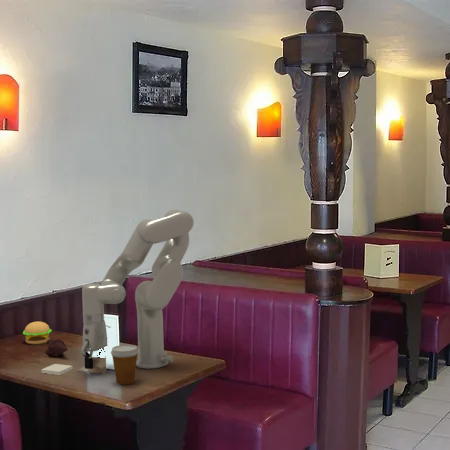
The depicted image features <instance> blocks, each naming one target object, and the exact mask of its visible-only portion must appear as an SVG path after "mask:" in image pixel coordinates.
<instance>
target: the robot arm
mask: <svg viewBox="0 0 450 450" xmlns="http://www.w3.org/2000/svg"><path fill="white" fill-rule="evenodd" d="M193 227H194V218H193V216H192V214H190V212H187V211H186V210H185V211H184V210H180V209H170V210H168V211H167V212H166V213H165V215H164V217H161V218H158V219H147V218H146V219H143V220H141V221H140V222H139V223H137V226H136V227H135V229H134V231H133V233H132V234H131V236H130V238H129V240H128V241H127V244H125V247H124V249H123V251H122V252H121V254H119V256H118V257H117V258H116V260H115V261H114V263H112V265H111V266H110V268H109V269H108V270H107V272H106V274H105V276H104V277H103V279H102V281H101V283H87V284H85V285H83V286H82V289H81V294H82V295H81V296H82V298H81V299H82V324H83V328H82V346H81V348H80V351H81V353H82V356H83V358H84V367H85V368H86V369H93V358H92V357H93V353H94V352H97V351H98V350H99V349H101V348H102V349H103V350H104V347H105V346H106V347H107V346H108V340H107V339H108V335H107V334H108V333H107V325H106V321H105V311H104V310H105V308H104V307H105V304H107V305H108V304H110V305H118V304H120V303H122V302H123V301H125V298H126V295H127V291H126V289H125V287H124V286H123V284H124V282H125V280H126V279H127V277H128V276H129V275H130V274H131V273H132V272H133V271H134V270H136V269H138V268H139V267H141V266H142V264H143V263H144V262H145V260H146V257H147V256H148V254H149V252H150V251H151V249H152V247H153V245H155V244H160V243H164V245H163V247H162V248H161V250H160V252H159V254H158V255H157V257H156V259H155V260H154V262H153V264H152V266H151V274H152V276H153V277H154V278H153V279H152V280H144V281H142V282H140V283H139V284H138V285H137V286H136V289H135V293H134V298H135V299H134V300H135V306H136V317H137V345H138V346H137V349H138V354H137V356H138V358H137V362H136V368H139V369H149V370H151V369H159V368H163V367H166V366H167V365H168V364H169V363H173V362H174V356H173V355H167V351H165V350H164V347H165V345H164V342H165V341H164V317H163V315H164V314H163V309H164V308H166V307H167V306H168V304H169V303H170V301H171V300H172V298H173V296H174V294H175V293H176V291H177V289H178V288H179V286H180V284H181V282H182V280H183V278H184V267H183V265H182V263H181V262H182V260H183V259H184V257H185V255H186V252H187V251H188V248H189V245H190V233H189V232H191V230H192V229H193ZM101 351H102V350H101ZM100 353H101V352H99V355H100ZM97 356H98V355H97V354H96V357H97Z"/></svg>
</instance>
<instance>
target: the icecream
mask: <svg viewBox="0 0 450 450" xmlns="http://www.w3.org/2000/svg"><path fill="white" fill-rule="evenodd" d="M46 344H47V349H45V353H46V354H48V355H49V354H50V355H51V356H53V357H55V358H57V357H61V356H63V354H64V353H65V352H67V351H68V348H67V345H66V343H64V341H63V340H61V339H60V338H58V339H51V338H50V339H48V340H47V342H46Z"/></svg>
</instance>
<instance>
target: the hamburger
mask: <svg viewBox="0 0 450 450" xmlns="http://www.w3.org/2000/svg"><path fill="white" fill-rule="evenodd" d="M50 333H52V329H51V328H50V326H49V325H48V324H47V323H46V322H43V321H41V320H40V321H33V322H30V323H28V324H27V325H26V326H25V328H24V330H23V332H22V334H23V335H25V343H27V344H28V345H42V344H43V345H44V344H45V343H46V344H47V340H48V339H51V338H50Z"/></svg>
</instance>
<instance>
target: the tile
mask: <svg viewBox="0 0 450 450" xmlns="http://www.w3.org/2000/svg"><path fill="white" fill-rule="evenodd" d="M73 366H74V365H68V364H62V363H61V364H60V363H53V364H51V365H48V366H46V367H44V368H42V369H41V371H40V372H41V374H44V373H47V374H46V375H52V374H54V375H53V376H61V375H64V374H66V373H68V372H70V371H72V370H73V368H74V367H73Z"/></svg>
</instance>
